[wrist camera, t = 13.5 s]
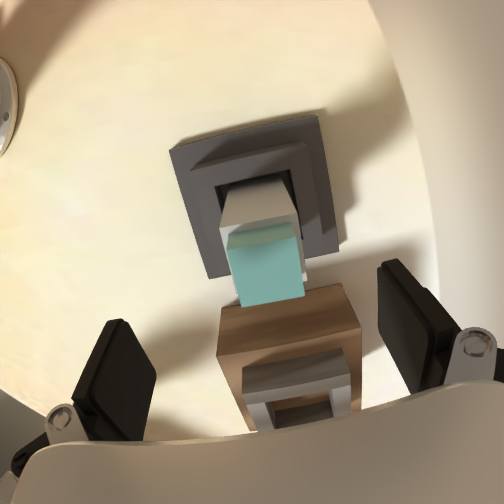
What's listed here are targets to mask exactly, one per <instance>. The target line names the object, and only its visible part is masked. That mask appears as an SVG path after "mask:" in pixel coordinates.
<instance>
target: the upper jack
mask: <svg viewBox="0 0 504 504" xmlns="http://www.w3.org/2000/svg"><path fill="white" fill-rule="evenodd" d="M304 292H305V296H302V297H297V298H292V299H287V300H281V301H276V302H270V303H265V304H259V305H254V306H248V307H241V305H236V306H230V307H225V308H222V310H221V318H220V327H219V336H218V345H217V353H216V357H217V360H218V362H219V364H220V367H221V369H222V371H223V374H224V376H225V378H226V380H227V383H228V385H229V387H230V389H231V392H232V394H233V396H234V398H235V400H236V403H237V405H238V407H239V409H240V411H241V413H242V416H243V418H244V420H245V422H246V424H247V426H248V428H249V430H250V431H258V432H262V431H269V430H275V429H280V428H286V427H291V426H296V425H301V424H306V423H311V422H316V421H320V420H324V419H329V418H333V417H337V416H341V415H345V414H348V413H351V412H355V411H359V410H361V399H362V336H361V326H360V323H359V321H358V319H357V317H356V315H355V313H354V310H353V308H352V306H351V304H350V302H349V300H348V298H347V295H346V293H345V291H344V289H343V287H342V285H341V283H340V284H336V285H331V286H327V287H322V288H318V289H313V290H309V291H304Z"/></svg>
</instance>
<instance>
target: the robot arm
mask: <svg viewBox="0 0 504 504" xmlns="http://www.w3.org/2000/svg"><path fill="white" fill-rule="evenodd" d="M17 110H18V92H17V84H16V80H15V77H14V74H13V72H12V70H11V68H10V66H9V65H8V64H7V63H6V62H5V61H4V60H2V59H1V58H0V157H1V156H2V154H3V153H4V151H5V150H6V148H7V146H8V144H9V142H10V139H11V137H12V134H13V131H14V127H15V123H16V118H17ZM377 279H378V329H379V333H380V335H381V337H382V339H383V341H384V342H385V344H386V346H387V348H388V350H389V352H390V354H391V356H392V358H393V360H394V362H395V364H396V366H397V368H398V370H399V372H400V373H401V375H402V377H403V380H404V382H405V384H406V386H407V388H408V390H409V392H410V394H411V395H409V396H406V397H403V398H400V399H397V400H394V401H390V402H387V403H384V404H380V405H377V406H374V407H370V408H366V409H363V410H359V411H356V412H352V413H348V414H345V415H341V416H337V417H333V418H329V419H324V420H320V421H316V422H311V423H306V424H301V425H296V426H291V427H286V428H280V429H275V430H269V431H262V432H256V433H249V434H241V435H233V436H224V437H215V438H204V439H190V440H173V441H142V440H143V436H144V431H145V426H146V421H147V417H148V412H149V408H150V403H151V399H152V394H153V390H154V386H155V382H156V371H155V369H154V367H153V366H152V364H151V362H150V360H149V359H148V357H147V355H146V354H145V352H144V350H143V348H142V347H141V345H140V343H139V341H138V340H137V338H136V336H135V334H134V332H133V330H132V329H131V327H130V325H129V323H128V322H126V321H124V320H123V319H121V318H120V319H114V320H109V321H107V322H106V324H105V326H104V328H103V330H102V332H101V334H100V336H99V338H98V340H97V342H96V344H95V347H94V349H93V351H92V353H91V355H90V357H89V359H88V361H87V363H86V366H85V368H84V370H83V372H82V374H81V377H80V379H79V381H78V383H77V386H76V388H75V390H74V393H73V395H72V397H71V399H72V400H73V401H74V404H73V406H72V405H70V404H60V405H58V406H56V407H55V408H53V409H52V410H51V411H50V412H49V414H48V415H47V417H46V419H45V429H46V432H45V433H43V434H42V435H41V436H39V437H38V438H36V439H35V440H33V441H32V442H31V443H29V444H28V445H26V446H25V447H24V448H22V449H20V450H19V451H18V452H17V453H16V454H15V455H14V457H13V459H12V463H11V468H12V472H10V471H8V472H7V473H6V474H5V475H4V476H3V477H2V478H1V479H0V504H504V349H500V348H497V341H496V339H495V337H494V336H493V335H492V334H491V333H490V332H489V331H487V330H485V329H483V328H479V327H471V328H466V329H464V330H461V329H460V327H459V326H458V325H457V323H456V322H455V321H454V320H453V318H452V317H451V316H450V315H449V313H448V312H447V311H446V310H445V309H444V308H443V306H442V305H441V304H440V303H439V301H438V300H437V299H436V298H435V297H434V295H433V294H432V293H431V292H430V291H429V290H428V289H427V288H425V287H422V286H421V285H420V283H419V282H418V281H417V280H416V279H415V278H414V276H413V275H412V274H411V273H410V272H409V271H408V270H407V268H406V267H405V266H404V265H403V264H402V263H401V262H400V261H399V260H398V259H397V258H396V259H392V260H388V261H384V262H382V264H381V267H378V269H377Z"/></svg>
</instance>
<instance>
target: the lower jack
mask: <svg viewBox="0 0 504 504" xmlns="http://www.w3.org/2000/svg"><path fill="white" fill-rule="evenodd" d="M169 153H170V157H171V160H172V164H173V167H174V170H175V174H176V177H177V181H178V184H179V187H180V191H181V194H182V197H183V200H184V204H185V207H186V210H187V213H188V217H189V220H190V223H191V226H192V229H193V232H194V235H195V239H196V242H197V245H198V248H199V251H200V254H201V257H202V260H203V263H204V266H205V269H206V272H207V275H208V278H209V279H213V278H218V277H223V276H228V275H231V271H230V267H229V264H228V260H227V256H226V252H225V249H224V245H223V241H222V237H221V233H220V230H219V227H220V222H221V218H222V214H223V210H224V206H225V202H226V197H227V193H228V189H229V185H230V184H231V183H236V182H241V181H246V180H251V179H256V178H261V177H266V176H271V175H276V174H279V175H280V177H281V179H282V181H283V183H284V186H285V188H286V190H287V192H288V194H289V196H290V198H291V201H292V203H293V205H294V207H295V209H296V211H297V215H298V221H299V227H300V233H301V240H302V247H303V253H304V259H308V258H312V257H317V256H322V255H326V254H331V253H335V252H339V245H338V237H337V229H336V222H335V215H334V208H333V201H332V194H331V188H330V182H329V176H328V170H327V164H326V158H325V153H324V147H323V142H322V137H321V132H320V127H319V122H318V117H317V116H316V115H314V116H308V117H302V118H297V119H291V120H286V121H281V122H276V123H271V124H266V125H261V126H257V127H252V128H248V129H244V130H239V131H235V132H231V133H227V134H223V135H219V136H215V137H211V138H207V139H204V140H200V141H196V142H193V143H189V144H186V145H182V146H179V147H175V148H172V149H170V150H169Z"/></svg>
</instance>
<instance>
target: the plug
mask: <svg viewBox="0 0 504 504" xmlns="http://www.w3.org/2000/svg"><path fill="white" fill-rule="evenodd" d="M219 230H220V233H221V237H222V241H223V245H224V249H225V252H226V256H227V260H228V264H229V267H230V271H231V275H232V279H233V282H234V286H235V290H236V293H237V294H238V296H239V300H240V304H241V307H248V306H254V305H259V304H265V303H270V302H276V301H281V300H287V299H292V298H297V297H302V296H305V292H304V285H303V282H304V281H307V274H306V267H305V260H304V253H303V247H302V240H301V233H300V227H299V221H298V215H297V211H296V209H295V207H294V205H293V203H292V201H291V198H290V196H289V194H288V192H287V190H286V188H285V186H284V183H283V181H282V179H281V177H280V175H279V174H276V175H271V176H266V177H261V178H256V179H251V180H246V181H241V182H236V183H231V184H230V185H229V189H228V193H227V197H226V202H225V206H224V210H223V214H222V218H221V222H220V227H219Z"/></svg>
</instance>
